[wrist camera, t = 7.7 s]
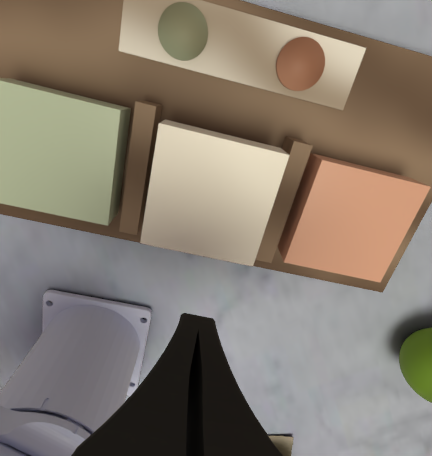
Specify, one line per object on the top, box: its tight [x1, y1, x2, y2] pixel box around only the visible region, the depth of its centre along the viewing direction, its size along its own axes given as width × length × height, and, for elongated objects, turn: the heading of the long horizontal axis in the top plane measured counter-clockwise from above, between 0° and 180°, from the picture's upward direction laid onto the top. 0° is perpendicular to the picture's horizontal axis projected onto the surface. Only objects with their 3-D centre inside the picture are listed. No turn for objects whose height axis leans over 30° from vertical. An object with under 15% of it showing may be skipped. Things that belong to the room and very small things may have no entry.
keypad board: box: [0, 0, 432, 292], centre depth 17 cm, size 14×27×4 cm, turn 77°
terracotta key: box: [277, 153, 431, 282], centre depth 18 cm, size 6×6×2 cm
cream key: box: [140, 119, 289, 266], centre depth 16 cm, size 6×6×2 cm
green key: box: [0, 78, 131, 226], centre depth 16 cm, size 6×6×2 cm
